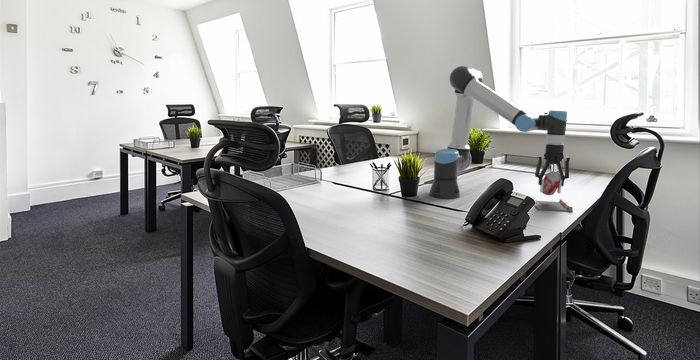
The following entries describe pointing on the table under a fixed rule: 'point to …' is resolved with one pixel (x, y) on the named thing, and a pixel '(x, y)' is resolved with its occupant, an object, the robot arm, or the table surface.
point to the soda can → (551, 183)
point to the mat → (552, 206)
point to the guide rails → (559, 201)
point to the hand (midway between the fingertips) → (550, 192)
